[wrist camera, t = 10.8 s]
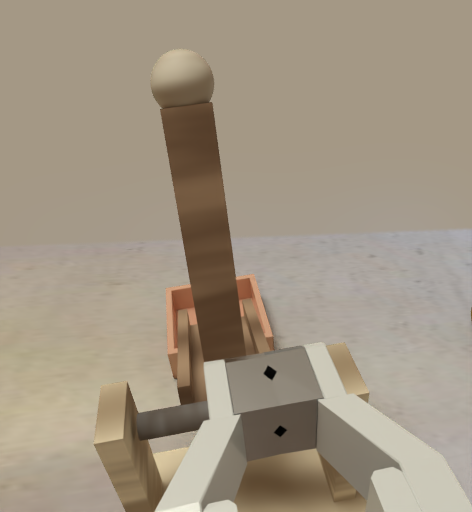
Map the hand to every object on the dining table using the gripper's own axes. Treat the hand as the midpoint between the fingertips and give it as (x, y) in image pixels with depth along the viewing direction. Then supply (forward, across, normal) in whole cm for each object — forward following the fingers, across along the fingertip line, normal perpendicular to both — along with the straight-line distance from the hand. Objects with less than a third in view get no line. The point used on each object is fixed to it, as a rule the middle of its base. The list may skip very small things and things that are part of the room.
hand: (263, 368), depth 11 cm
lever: (+15, -1, -17) cm, 22 cm away
